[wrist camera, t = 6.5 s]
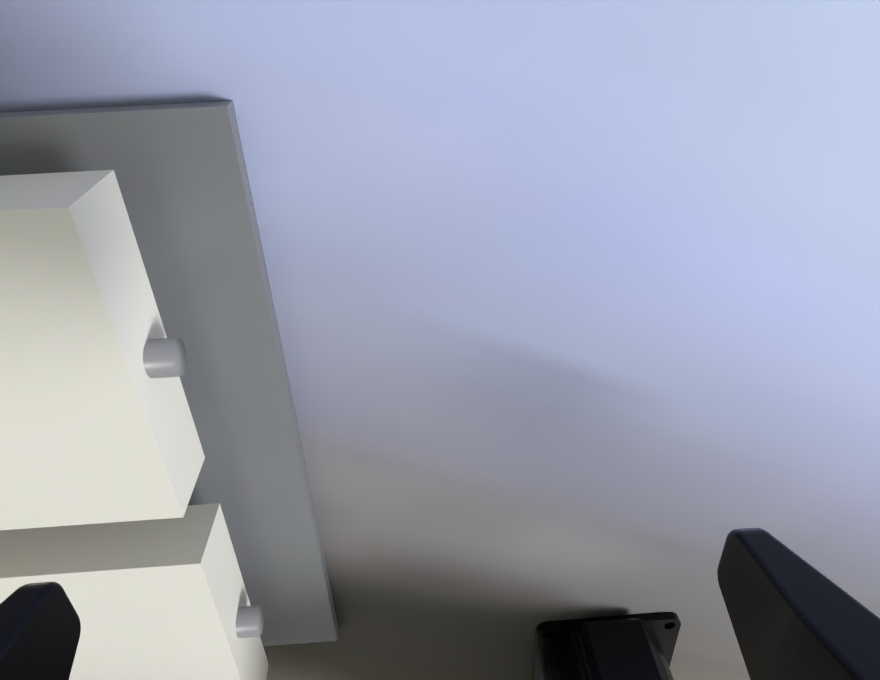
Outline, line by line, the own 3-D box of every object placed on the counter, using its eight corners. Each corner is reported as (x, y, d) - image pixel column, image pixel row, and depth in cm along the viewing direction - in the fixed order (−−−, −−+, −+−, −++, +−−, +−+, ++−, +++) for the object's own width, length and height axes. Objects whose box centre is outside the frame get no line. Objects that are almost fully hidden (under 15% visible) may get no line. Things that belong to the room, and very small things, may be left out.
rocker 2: (286, 663, 25) (276, 726, 23) (-31, 688, 25) (-68, 754, 23) (241, 501, 21) (224, 561, 19) (-150, 529, 20) (-211, 593, 18)
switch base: (339, 615, 28) (336, 645, 27) (-28, 643, 28) (-47, 675, 27) (237, 96, 17) (225, 108, 15) (-403, 128, 16) (-466, 142, 15)
